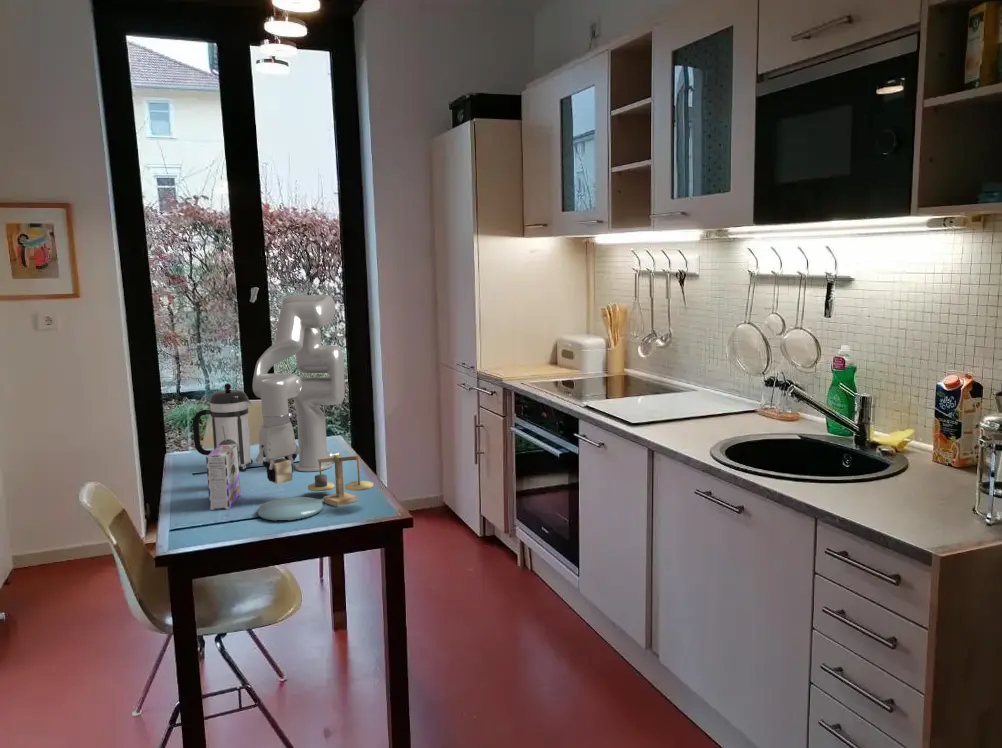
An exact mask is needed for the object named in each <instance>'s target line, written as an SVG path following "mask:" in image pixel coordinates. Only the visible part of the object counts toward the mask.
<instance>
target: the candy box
mask: <svg viewBox="0 0 1002 748" xmlns="http://www.w3.org/2000/svg"><path fill="white" fill-rule="evenodd" d="M212 450H213V451H212V452H210V453H209V454H208V455H205V461H206V474H207V475H206V476H207V487H208V499H209V500H208V501H209V510H210V511H212V510H213V511H217V510H218V511H219V510H221V511H222V510H224V511H225V510H227V511H228V510H230V509H231V508H232V506H233V505H235V503H236V502H237V500H238V499H239V497H240V496H241V494H242V493H241V481H240V468H239V467H238V454H237V444H229V445H218V446H217V447H216V448H215V449H214V448H213V449H212Z"/></svg>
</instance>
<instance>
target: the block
mask: <svg viewBox="0 0 1002 748" xmlns="http://www.w3.org/2000/svg"><path fill="white" fill-rule="evenodd" d="M292 468H293V466H292V467H291V461H290V460H287V459H285V458H284V457H281V458H277V459H274V465H273V469H275V479H276V481H275V482H272V481H270V482H271V483H274V484H276V485H280V484H284V483H286V482H291V481H293V473H292Z"/></svg>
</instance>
